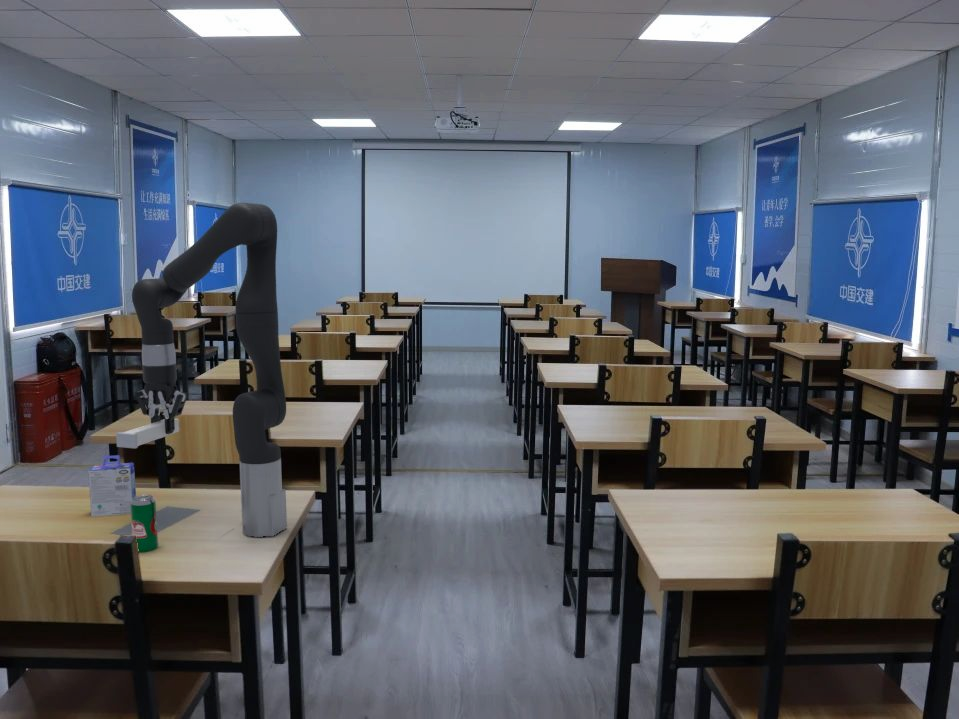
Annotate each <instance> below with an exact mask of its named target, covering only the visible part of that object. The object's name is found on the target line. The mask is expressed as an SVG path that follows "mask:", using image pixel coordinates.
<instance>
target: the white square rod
mask: <svg viewBox="0 0 959 719" xmlns="http://www.w3.org/2000/svg"><path fill="white" fill-rule="evenodd" d="M165 419H166V418H164V419H161V421H158V422H154V423H151V422H150V423H148V424H145V425H143V426H139V427H136V428H132V429H130V430H127V431H123V432H119V431H118V432H116V433H115V437H116V447H117V448H124V449H125V448H126V449H138V448H139V446H142V445H144V444H147V443H150V442H153V441H156V440H160V439H162V438H165V437H167V436H170V435H173V434H174V435H175V434H176V433H179V432H180V419H179V418H174V423H175V424H174V425H175V430H174V431H173V433H171V434H166V433H165Z"/></svg>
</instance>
